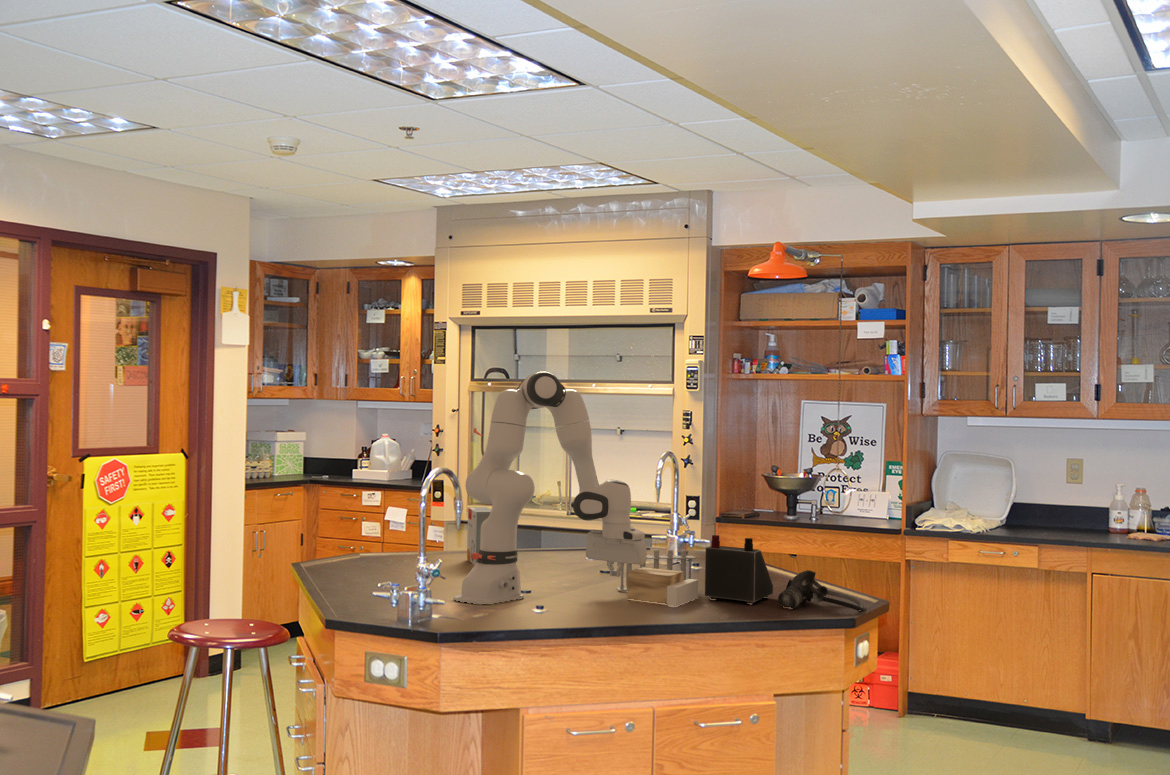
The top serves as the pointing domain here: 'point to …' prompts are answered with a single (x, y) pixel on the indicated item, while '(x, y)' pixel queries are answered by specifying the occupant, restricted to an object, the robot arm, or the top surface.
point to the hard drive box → (475, 530)
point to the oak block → (651, 583)
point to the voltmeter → (736, 572)
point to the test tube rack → (656, 565)
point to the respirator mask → (812, 592)
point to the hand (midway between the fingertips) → (615, 576)
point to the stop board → (682, 592)
